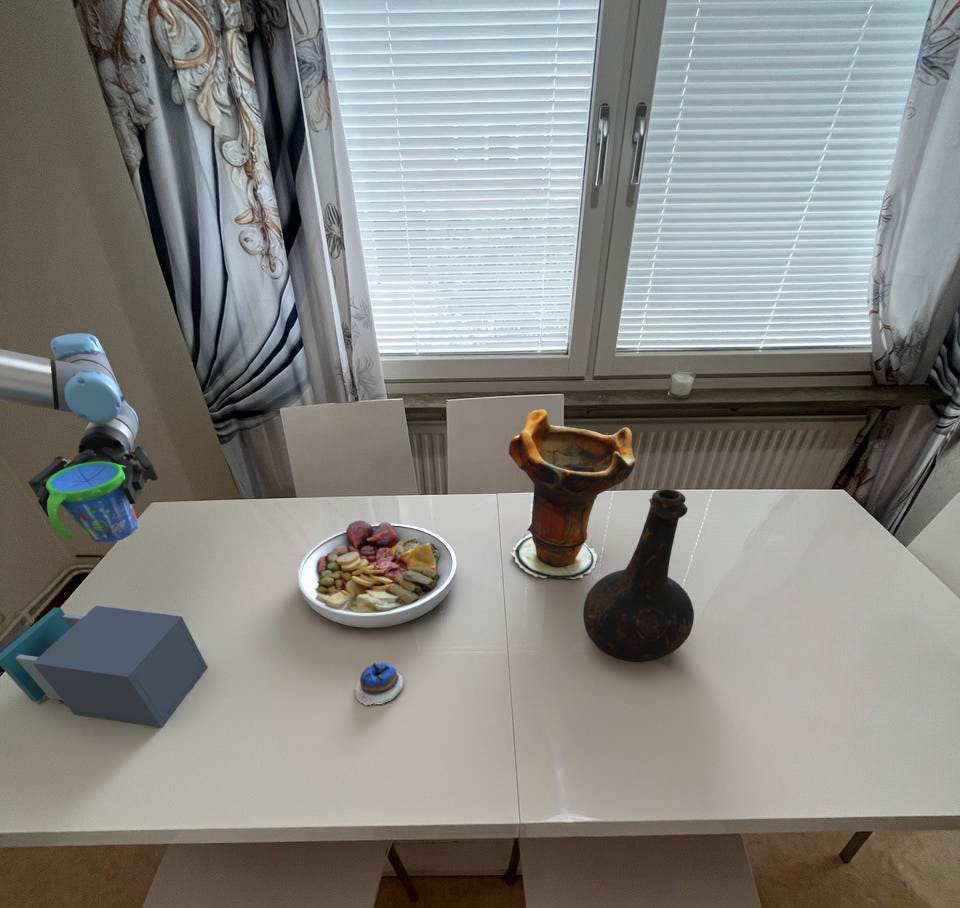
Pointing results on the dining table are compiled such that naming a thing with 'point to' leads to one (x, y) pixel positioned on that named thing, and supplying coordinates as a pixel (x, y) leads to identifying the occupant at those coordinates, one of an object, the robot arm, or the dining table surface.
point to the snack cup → (92, 501)
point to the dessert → (378, 684)
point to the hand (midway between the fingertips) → (88, 502)
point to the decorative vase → (565, 491)
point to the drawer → (34, 652)
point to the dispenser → (124, 665)
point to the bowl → (377, 574)
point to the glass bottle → (643, 593)
